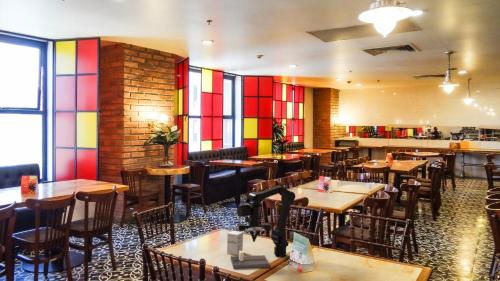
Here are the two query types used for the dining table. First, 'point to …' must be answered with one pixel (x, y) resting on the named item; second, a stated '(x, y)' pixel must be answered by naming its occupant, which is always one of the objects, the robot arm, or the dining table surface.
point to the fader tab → (241, 255)
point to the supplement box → (234, 242)
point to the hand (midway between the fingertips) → (253, 241)
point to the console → (249, 262)
